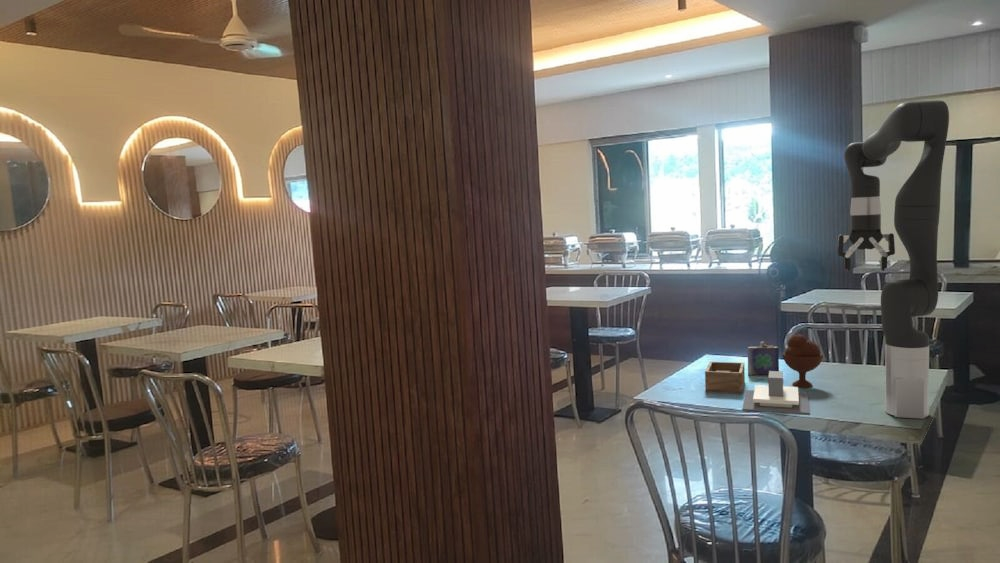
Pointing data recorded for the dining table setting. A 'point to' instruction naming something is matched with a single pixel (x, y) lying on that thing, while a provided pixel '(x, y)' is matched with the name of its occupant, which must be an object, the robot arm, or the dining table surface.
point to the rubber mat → (797, 409)
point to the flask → (763, 359)
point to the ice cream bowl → (802, 358)
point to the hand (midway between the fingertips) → (865, 270)
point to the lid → (776, 392)
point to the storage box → (725, 377)
